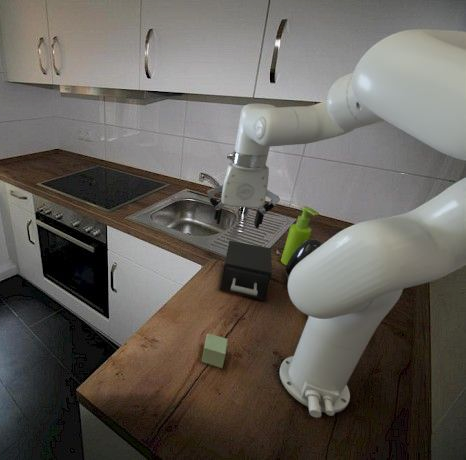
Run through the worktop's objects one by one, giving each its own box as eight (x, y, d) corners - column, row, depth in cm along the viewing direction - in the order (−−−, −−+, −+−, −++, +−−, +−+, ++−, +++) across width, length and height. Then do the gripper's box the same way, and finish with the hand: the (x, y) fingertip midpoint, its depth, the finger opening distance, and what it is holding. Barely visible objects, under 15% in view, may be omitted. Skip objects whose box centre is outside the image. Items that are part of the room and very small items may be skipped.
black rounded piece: (328, 292, 91) (346, 247, 84) (296, 296, 90) (312, 250, 83) (305, 272, 100) (319, 230, 93) (275, 275, 99) (287, 232, 92)
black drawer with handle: (262, 311, 83) (268, 288, 79) (219, 301, 86) (224, 278, 83) (262, 275, 97) (268, 254, 93) (226, 267, 101) (230, 246, 97)
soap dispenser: (291, 270, 101) (309, 214, 92) (276, 258, 107) (292, 205, 98) (306, 267, 102) (325, 212, 93) (291, 256, 108) (307, 203, 99)
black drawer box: (263, 300, 88) (271, 272, 84) (219, 290, 92) (224, 262, 88) (264, 274, 99) (271, 248, 95) (224, 265, 103) (229, 240, 99)
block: (222, 368, 68) (225, 354, 66) (201, 361, 70) (204, 347, 68) (224, 352, 72) (227, 338, 70) (204, 346, 74) (207, 332, 71)
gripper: (212, 161, 73) (202, 226, 81) (292, 166, 70) (274, 234, 78) (211, 153, 80) (203, 214, 88) (285, 158, 76) (269, 221, 84)
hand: (236, 224), depth 83 cm, fingers open, 9 cm apart
